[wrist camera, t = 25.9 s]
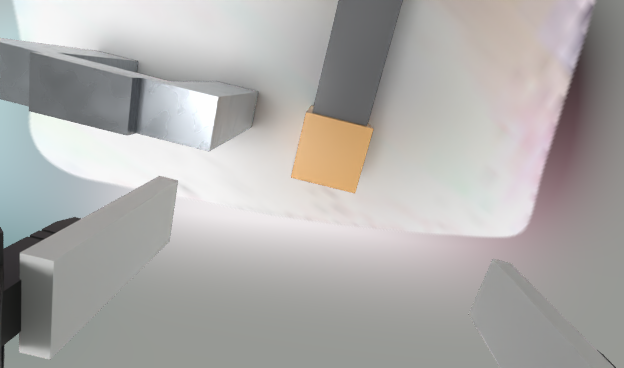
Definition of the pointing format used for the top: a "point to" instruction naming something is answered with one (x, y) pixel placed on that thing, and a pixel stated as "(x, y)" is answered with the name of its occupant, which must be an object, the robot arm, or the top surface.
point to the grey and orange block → (346, 95)
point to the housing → (121, 95)
